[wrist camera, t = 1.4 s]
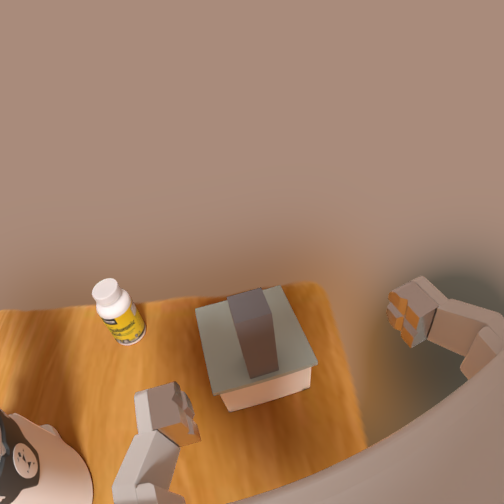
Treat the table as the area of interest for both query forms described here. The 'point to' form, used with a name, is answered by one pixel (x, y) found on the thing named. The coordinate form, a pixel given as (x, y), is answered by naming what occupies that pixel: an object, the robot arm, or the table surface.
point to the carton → (267, 390)
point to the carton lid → (252, 340)
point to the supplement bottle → (118, 312)
